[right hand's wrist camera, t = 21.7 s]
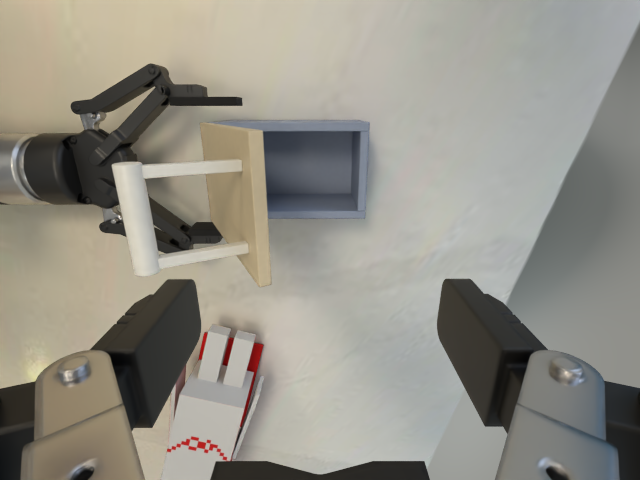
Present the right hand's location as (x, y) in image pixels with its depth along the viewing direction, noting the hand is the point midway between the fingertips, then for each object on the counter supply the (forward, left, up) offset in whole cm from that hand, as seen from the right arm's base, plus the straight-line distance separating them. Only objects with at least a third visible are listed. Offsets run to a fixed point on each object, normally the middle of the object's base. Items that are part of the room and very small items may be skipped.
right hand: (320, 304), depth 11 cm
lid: (-4, -6, -18) cm, 19 cm away
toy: (+20, -36, -35) cm, 54 cm away
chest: (-2, -2, -35) cm, 35 cm away
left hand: (-5, -6, -28) cm, 29 cm away
